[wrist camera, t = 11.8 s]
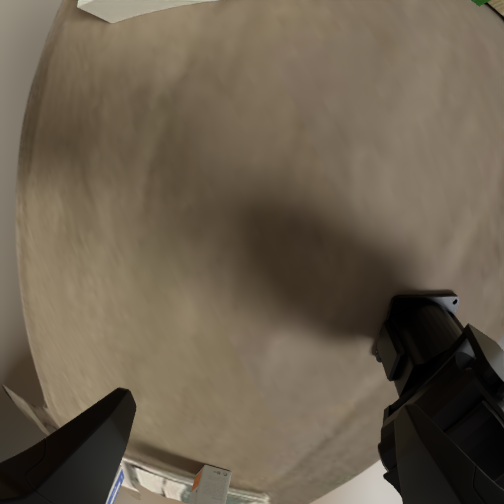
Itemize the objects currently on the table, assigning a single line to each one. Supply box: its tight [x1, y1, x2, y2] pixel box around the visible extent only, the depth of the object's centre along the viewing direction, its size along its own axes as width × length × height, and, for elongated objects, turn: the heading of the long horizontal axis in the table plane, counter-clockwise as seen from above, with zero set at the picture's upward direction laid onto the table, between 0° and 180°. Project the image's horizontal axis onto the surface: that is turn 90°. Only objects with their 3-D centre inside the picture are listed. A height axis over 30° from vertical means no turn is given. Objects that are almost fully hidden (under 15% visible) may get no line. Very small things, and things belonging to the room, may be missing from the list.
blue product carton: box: [106, 465, 124, 504], centre depth 35 cm, size 8×3×12 cm, turn 164°
